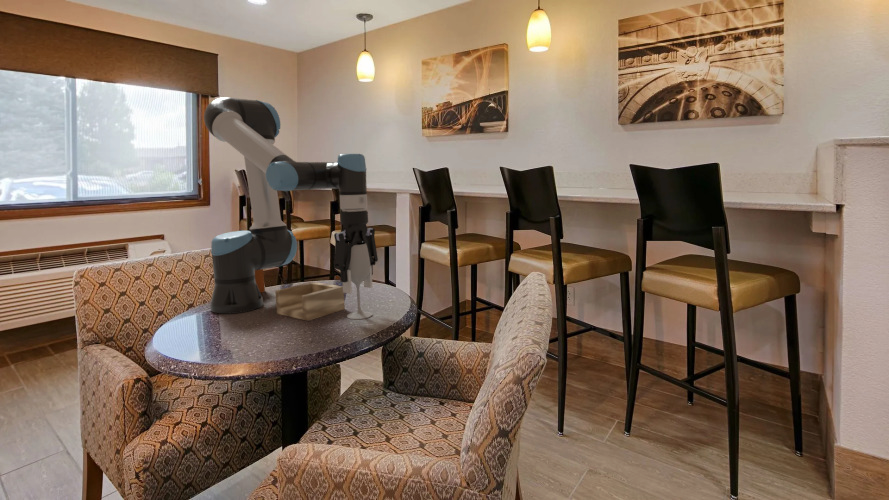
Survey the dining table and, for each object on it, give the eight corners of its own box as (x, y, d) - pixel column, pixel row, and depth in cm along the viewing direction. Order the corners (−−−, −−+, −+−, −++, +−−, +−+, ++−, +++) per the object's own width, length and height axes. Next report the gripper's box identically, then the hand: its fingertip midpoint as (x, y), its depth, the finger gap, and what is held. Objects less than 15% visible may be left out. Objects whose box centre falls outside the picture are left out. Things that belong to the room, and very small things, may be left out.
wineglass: (367, 320, 140) (363, 245, 137) (341, 319, 141) (337, 245, 138) (376, 312, 147) (372, 241, 144) (352, 311, 149) (348, 241, 145)
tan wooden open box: (276, 313, 148) (275, 290, 147) (313, 303, 160) (312, 281, 159) (308, 320, 140) (306, 296, 139) (344, 309, 152) (343, 286, 151)
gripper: (335, 213, 129) (340, 299, 133) (388, 207, 146) (391, 284, 149) (316, 212, 133) (321, 295, 137) (369, 207, 150) (373, 281, 153)
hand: (358, 289), depth 143 cm, fingers closed on wineglass, 8 cm apart
